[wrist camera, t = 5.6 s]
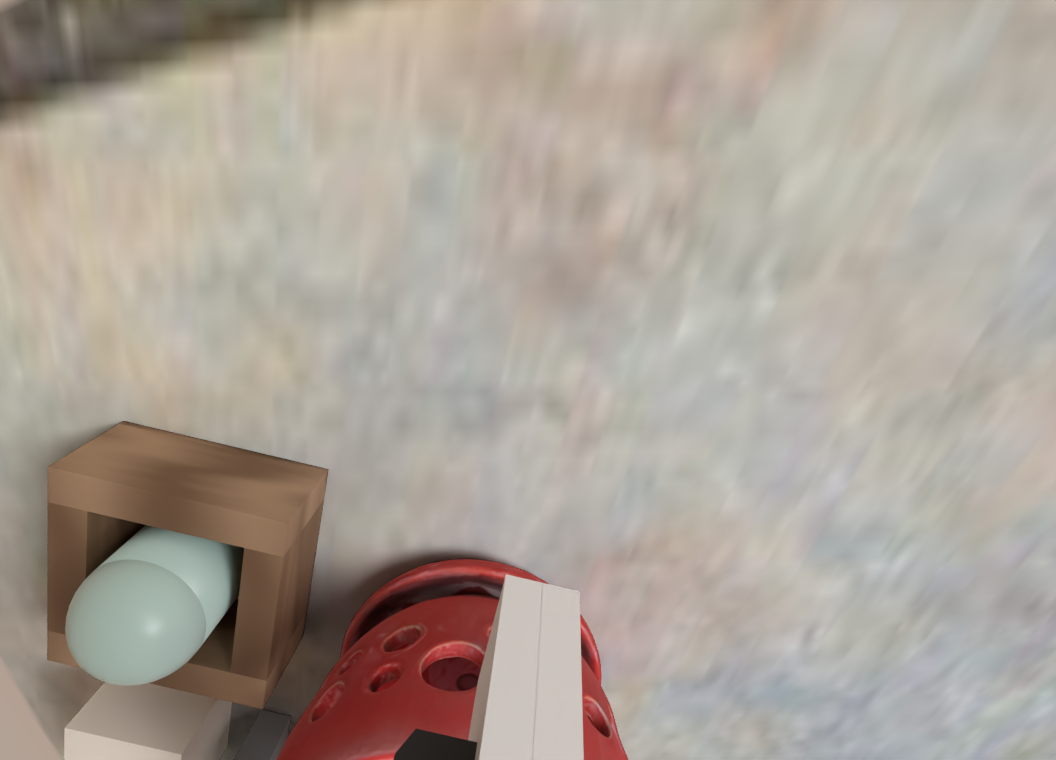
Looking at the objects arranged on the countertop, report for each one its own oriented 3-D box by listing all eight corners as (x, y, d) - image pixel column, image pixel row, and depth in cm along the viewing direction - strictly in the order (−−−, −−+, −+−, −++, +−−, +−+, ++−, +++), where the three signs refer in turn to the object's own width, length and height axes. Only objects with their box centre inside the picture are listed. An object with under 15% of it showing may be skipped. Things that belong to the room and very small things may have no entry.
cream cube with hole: (236, 669, 33) (178, 758, 29) (227, 745, 35) (171, 842, 30) (136, 646, 33) (61, 731, 28) (131, 723, 35) (60, 817, 30)
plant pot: (409, 781, 35) (332, 1083, 24) (301, 570, 31) (149, 808, 20) (657, 727, 33) (703, 1029, 22) (573, 494, 29) (576, 711, 18)
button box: (328, 469, 30) (287, 523, 25) (303, 635, 32) (262, 709, 28) (123, 420, 29) (47, 466, 25) (116, 592, 32) (47, 659, 28)
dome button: (263, 514, 29) (175, 619, 22) (252, 606, 31) (166, 730, 24) (152, 488, 29) (31, 586, 22) (147, 581, 30) (31, 699, 24)
